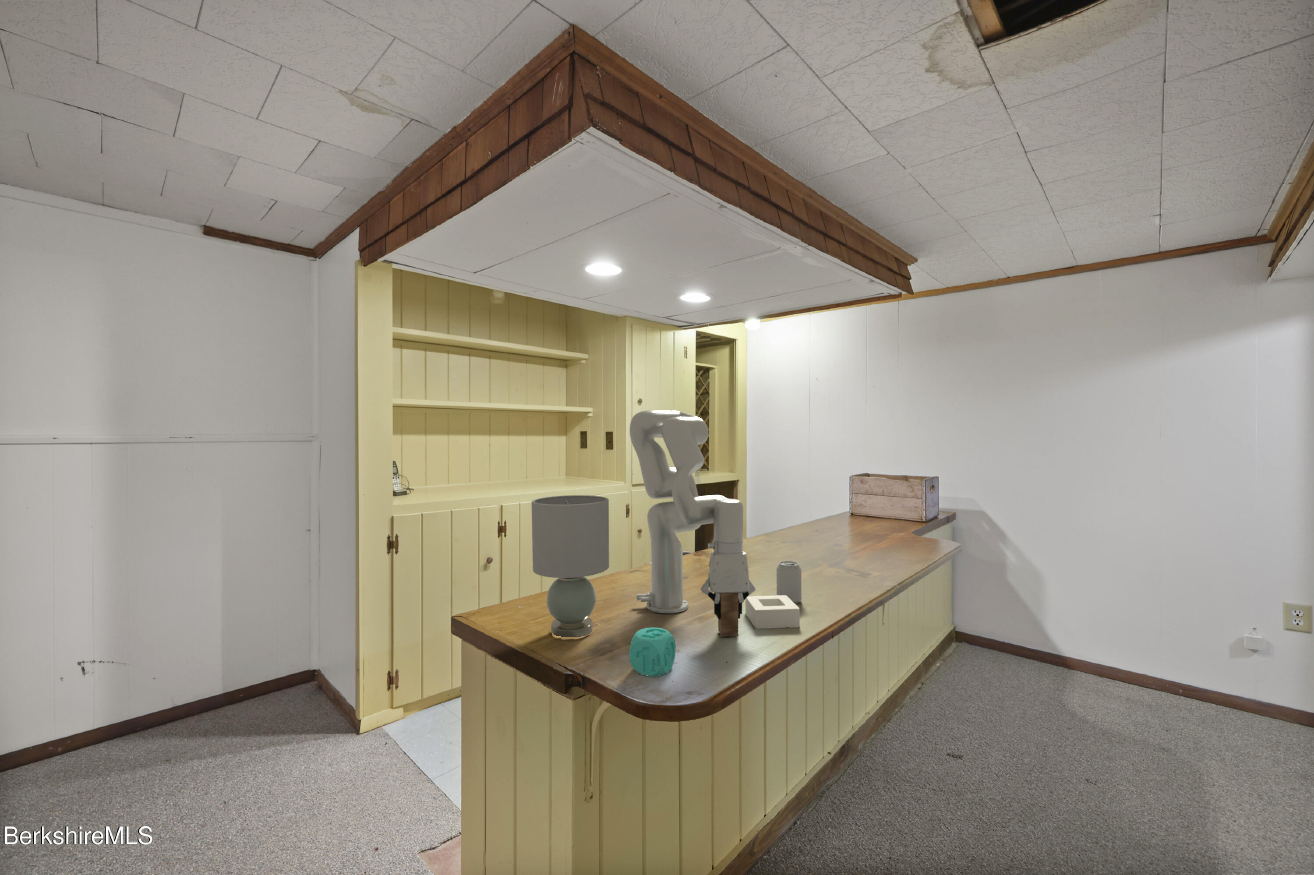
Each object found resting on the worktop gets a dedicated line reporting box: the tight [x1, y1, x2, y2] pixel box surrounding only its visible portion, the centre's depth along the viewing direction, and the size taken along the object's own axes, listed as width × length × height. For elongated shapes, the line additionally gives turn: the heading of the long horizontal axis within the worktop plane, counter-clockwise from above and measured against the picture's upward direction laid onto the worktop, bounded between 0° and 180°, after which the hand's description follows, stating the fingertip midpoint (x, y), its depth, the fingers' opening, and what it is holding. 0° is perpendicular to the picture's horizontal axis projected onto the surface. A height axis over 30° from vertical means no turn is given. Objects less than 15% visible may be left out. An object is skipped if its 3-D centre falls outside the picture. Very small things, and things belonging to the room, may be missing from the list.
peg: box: [717, 593, 739, 637], centre depth 143 cm, size 4×4×12 cm
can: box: [776, 560, 803, 605], centre depth 170 cm, size 8×8×12 cm
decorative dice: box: [628, 627, 677, 677], centre depth 123 cm, size 8×8×8 cm
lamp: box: [531, 494, 610, 637], centre depth 146 cm, size 20×20×35 cm
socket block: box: [744, 594, 801, 629], centre depth 154 cm, size 12×12×5 cm
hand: (728, 616), depth 143 cm, fingers closed on peg, 4 cm apart
